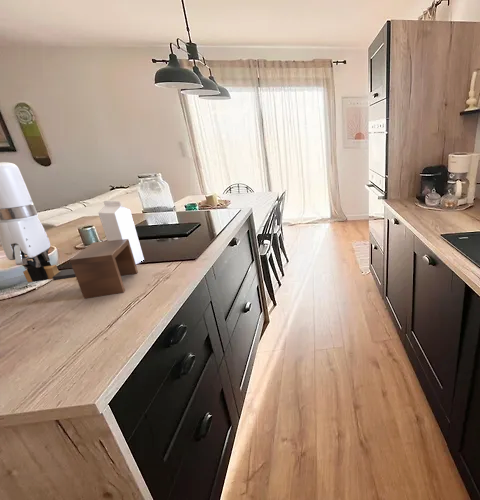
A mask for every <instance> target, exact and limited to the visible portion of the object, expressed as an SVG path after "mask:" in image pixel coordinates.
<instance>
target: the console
mask: <svg viewBox="0 0 480 500" xmlns="http://www.w3.org/2000/svg"><path fill="white" fill-rule="evenodd" d="M69 262H70V266H71V269H73V271H74V273H75V276H76V277H75V278H76V281H77V283H78V287H79V289H80V291H81V294H82V297H83V299H85V300H86V299H91V298H97V297H98V298H99V297H103V296H110V295H111V296H112V295H116V294H123V293H125V292H126V288H125V285H124V282H123V279H122V277H123V276H129V275H136V274H137V275H138V273H139V271H138V267H137V264H136V263H135V260H134V257H133V253H132V250H131V246H130V243H129V240H128V239H122V240H112V241H107V240H104V241H94V242H92V243H90V244H89V245H88V246H86V247H85V248H83V249H82V250H81V251H79V252H78V253H77V254H75V255H74V256H73V257H71V258H69Z"/></svg>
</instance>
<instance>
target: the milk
mask: <svg viewBox="0 0 480 500" xmlns="http://www.w3.org/2000/svg"><path fill="white" fill-rule="evenodd" d="M103 205H104V206H103V207H102V208H101V209H100V210H99V211H98V217H99V219H100V222H101V226H102V229H103V232H104V235H105V238H106V241H112V240H122V239H128V240H129V243H130V246H131V250H132V253H133V257H134V260H135V263H136V265H138V264H141V263H142V262H144V261H145V257H144V254H143V250H142V247H141V243H140V240H139V237H138V236H139V235H138V232H137V229H136V226H135V222H134V218H133V214H132V211H131V209H130V208H128V207H124V206H123V205H122V203H121V201H114V200H112V201H111V200H104V201H103ZM143 260H144V261H143ZM141 261H142V262H141Z"/></svg>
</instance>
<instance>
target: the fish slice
mask: <svg viewBox="0 0 480 500" xmlns="http://www.w3.org/2000/svg"><path fill="white" fill-rule="evenodd" d="M44 269H45V271H46V273H47V276H48V279H47V280H46V281H48V280H53V281H59V280H66V279H67V280H68V279H74V278H76V276H75V273H74V271H73V268H67V269H61V270H59V269H58V266H57V264H53V265H52V264H51V266H44ZM22 273H23V275H24V278H25V279H26V281H27V283H34V282H33V281H32V279H31V277H30V275H29V273H28V271H27V269H24V271H22Z"/></svg>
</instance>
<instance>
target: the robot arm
mask: <svg viewBox="0 0 480 500" xmlns="http://www.w3.org/2000/svg"><path fill="white" fill-rule="evenodd" d="M0 245H1V247H2V250H3V252H4V254H5V257H6V259H8V261H15V265H16V266H23V268H24V270H27V271H28V273H29V275H30V277H31V279H32V281H33V282H32V283H35V282H41V281H42V282H43V281H48V280H47V279H48V276H47V273H46V271H45V269H44V266H51V265H52V264H51V262H50V260H51V259H50V257H49V251H50V249H51V248H50V247H51V241H50V238H49V236H48V234H47V232H46V229H45V227H44V226H43V224H42V222H41V220H40V219H39V213H38V211H37V209H36V206H35V204H34V202H33V199H32V197H31V193H30V192H29V188H28V187H27V184H26V182H25V180H24V177H23V175H22V172H21V170H20V168H19V167H18V165H17V164H15V163H13V162H7V161H1V162H0Z"/></svg>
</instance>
